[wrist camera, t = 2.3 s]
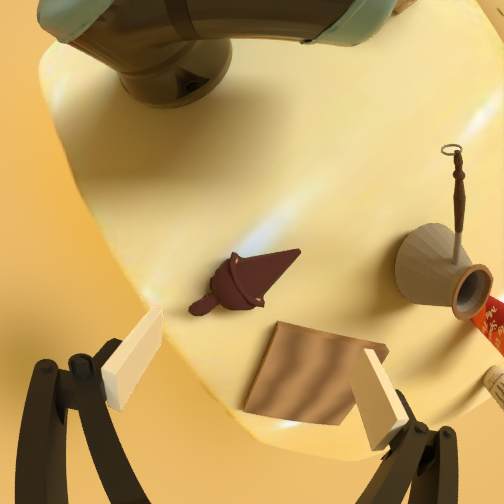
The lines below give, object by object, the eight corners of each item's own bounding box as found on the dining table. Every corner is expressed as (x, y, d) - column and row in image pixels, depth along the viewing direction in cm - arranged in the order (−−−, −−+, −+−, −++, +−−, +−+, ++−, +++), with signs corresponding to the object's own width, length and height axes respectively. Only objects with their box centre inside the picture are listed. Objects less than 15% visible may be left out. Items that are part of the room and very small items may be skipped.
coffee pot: (454, 275, 34) (514, 316, 19) (396, 308, 36) (446, 368, 21) (418, 140, 29) (492, 129, 15) (350, 168, 31) (408, 164, 17)
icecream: (278, 220, 27) (168, 287, 31) (315, 285, 26) (199, 342, 31) (288, 221, 34) (194, 277, 38) (317, 274, 33) (220, 323, 37)
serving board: (244, 403, 42) (243, 411, 40) (277, 320, 37) (278, 328, 35) (337, 418, 42) (338, 425, 40) (385, 344, 37) (389, 351, 35)
